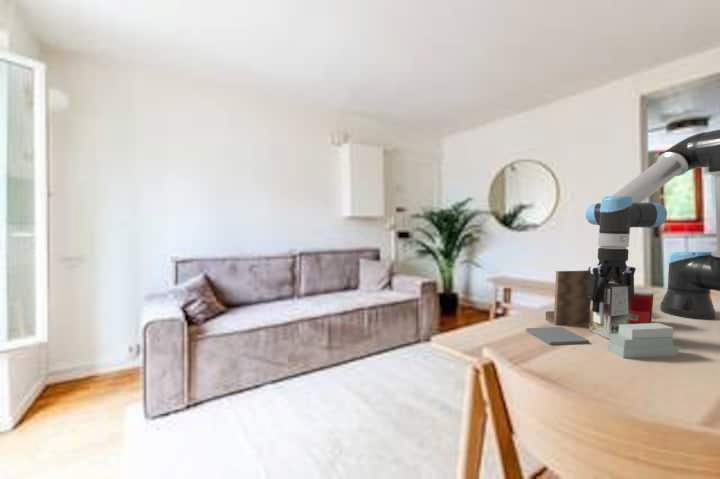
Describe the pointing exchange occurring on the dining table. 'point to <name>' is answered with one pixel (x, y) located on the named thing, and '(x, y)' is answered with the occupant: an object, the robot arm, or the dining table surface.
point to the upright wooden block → (571, 298)
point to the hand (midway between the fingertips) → (608, 322)
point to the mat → (557, 335)
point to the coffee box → (612, 309)
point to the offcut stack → (643, 341)
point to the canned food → (641, 307)
